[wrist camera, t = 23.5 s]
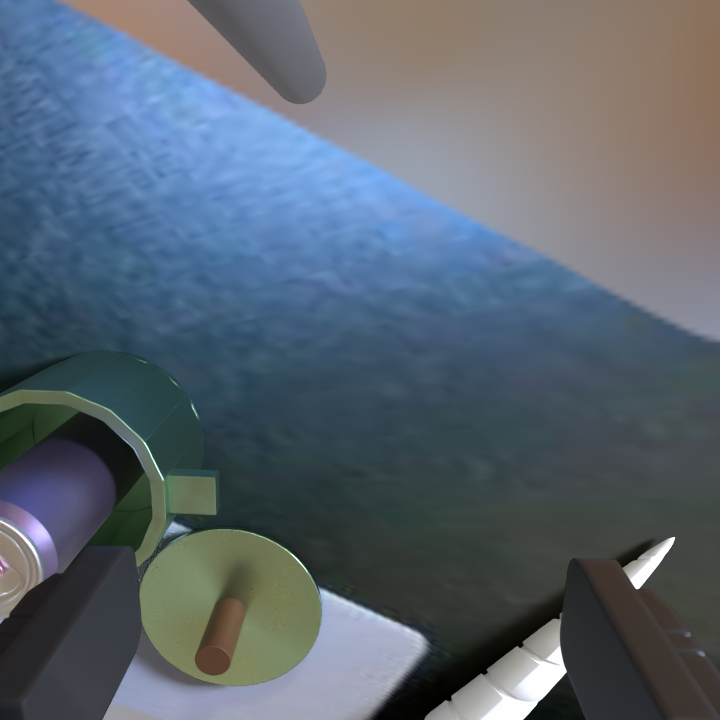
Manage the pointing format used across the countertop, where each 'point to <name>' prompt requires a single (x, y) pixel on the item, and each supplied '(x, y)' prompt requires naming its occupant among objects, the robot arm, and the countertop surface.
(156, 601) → the pot lid
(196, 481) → the pot
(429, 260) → the countertop surface
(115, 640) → the robot arm
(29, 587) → the beverage can
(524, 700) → the unicorn horn
